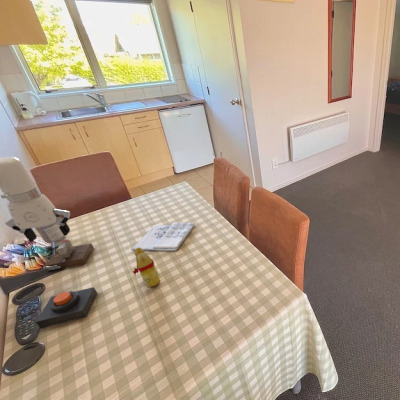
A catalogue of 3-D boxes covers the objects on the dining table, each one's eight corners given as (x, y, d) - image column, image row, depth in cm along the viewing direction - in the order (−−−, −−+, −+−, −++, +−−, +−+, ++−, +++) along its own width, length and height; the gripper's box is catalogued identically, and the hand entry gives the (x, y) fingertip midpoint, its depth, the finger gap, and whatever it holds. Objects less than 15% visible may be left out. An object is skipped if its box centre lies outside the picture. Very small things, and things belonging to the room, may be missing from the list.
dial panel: (48, 271, 103) (44, 265, 101) (60, 255, 111) (56, 249, 109) (85, 264, 106) (81, 258, 105) (94, 248, 114) (91, 242, 113)
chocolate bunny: (155, 267, 104) (142, 237, 97) (163, 283, 97) (149, 252, 90) (135, 276, 100) (120, 245, 93) (142, 293, 93) (126, 261, 86)
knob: (68, 257, 105) (62, 247, 102) (62, 258, 104) (56, 248, 102) (74, 249, 110) (68, 239, 107) (69, 250, 109) (62, 240, 106)
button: (53, 307, 83) (50, 303, 82) (59, 297, 86) (56, 293, 86) (69, 303, 84) (66, 299, 83) (74, 294, 88) (71, 290, 87)
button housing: (40, 328, 82) (31, 318, 79) (56, 303, 90) (48, 292, 88) (86, 317, 85) (79, 306, 83) (97, 293, 93) (91, 283, 91)
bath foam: (49, 242, 118) (24, 204, 108) (69, 237, 121) (46, 199, 111) (47, 251, 113) (20, 212, 103) (68, 245, 116) (44, 206, 106)
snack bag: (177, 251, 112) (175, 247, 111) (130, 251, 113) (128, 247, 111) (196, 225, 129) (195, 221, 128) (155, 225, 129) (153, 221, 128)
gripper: (-19, 205, 81) (14, 248, 90) (51, 195, 87) (75, 237, 95) (-4, 194, 87) (25, 235, 96) (61, 185, 93) (83, 225, 101)
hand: (50, 236), depth 96 cm, fingers open, 9 cm apart
